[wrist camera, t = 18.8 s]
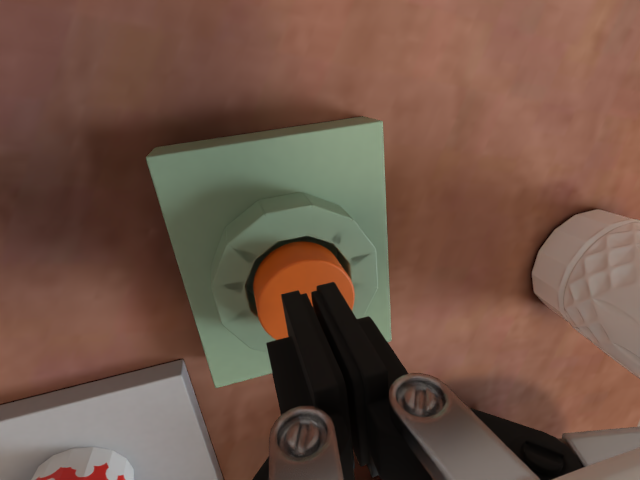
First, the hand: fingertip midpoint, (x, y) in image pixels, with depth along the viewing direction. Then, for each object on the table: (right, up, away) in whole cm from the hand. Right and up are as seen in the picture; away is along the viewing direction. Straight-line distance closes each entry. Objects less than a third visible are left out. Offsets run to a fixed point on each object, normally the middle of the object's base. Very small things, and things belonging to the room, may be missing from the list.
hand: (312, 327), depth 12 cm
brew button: (-1, +1, +3) cm, 4 cm away
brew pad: (-2, +2, +7) cm, 7 cm away
